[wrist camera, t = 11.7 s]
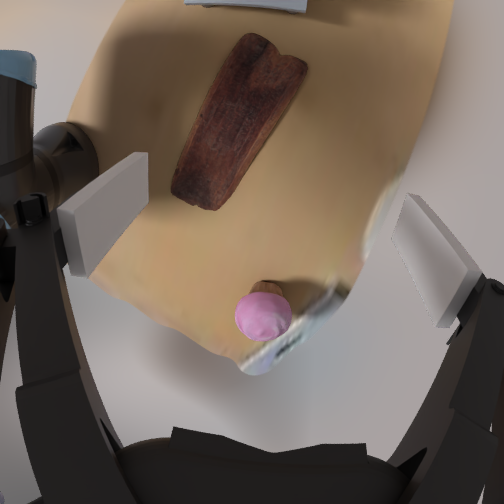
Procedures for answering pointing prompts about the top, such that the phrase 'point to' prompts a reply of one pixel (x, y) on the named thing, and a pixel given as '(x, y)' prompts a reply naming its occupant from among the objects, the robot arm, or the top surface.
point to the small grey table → (256, 4)
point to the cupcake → (263, 312)
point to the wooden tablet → (235, 121)
